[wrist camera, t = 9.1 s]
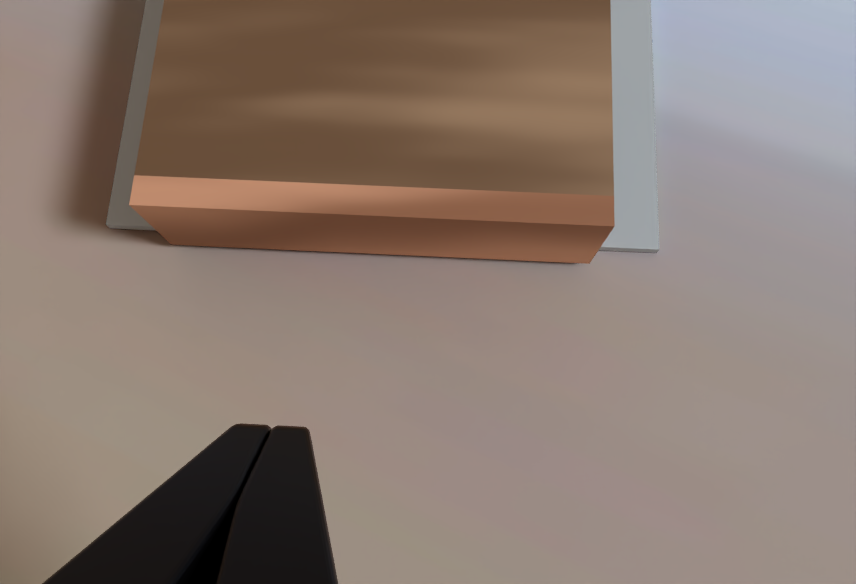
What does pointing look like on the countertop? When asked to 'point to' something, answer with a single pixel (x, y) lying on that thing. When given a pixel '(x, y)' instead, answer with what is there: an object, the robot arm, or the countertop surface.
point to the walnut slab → (382, 127)
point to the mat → (629, 128)
